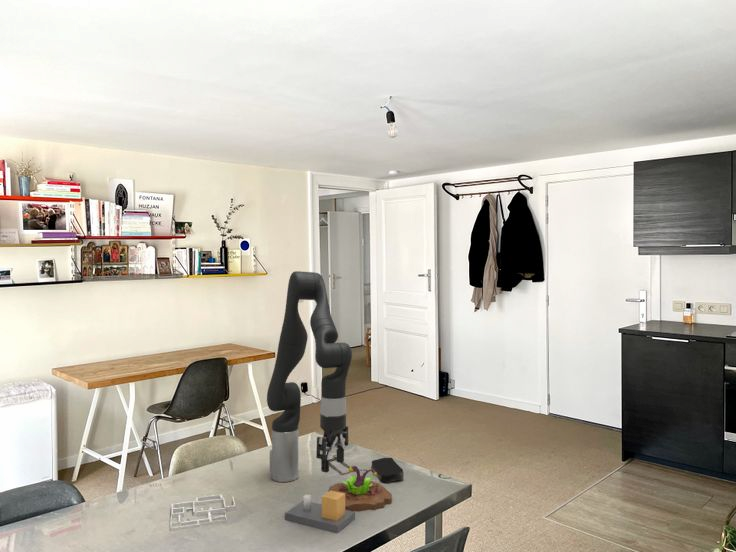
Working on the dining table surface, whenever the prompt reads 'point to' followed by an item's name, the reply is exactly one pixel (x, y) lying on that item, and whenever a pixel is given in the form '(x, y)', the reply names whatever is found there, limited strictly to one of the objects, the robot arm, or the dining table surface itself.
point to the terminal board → (317, 516)
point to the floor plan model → (200, 512)
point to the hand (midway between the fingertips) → (332, 466)
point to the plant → (362, 492)
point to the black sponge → (387, 469)
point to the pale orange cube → (333, 505)
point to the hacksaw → (337, 469)
